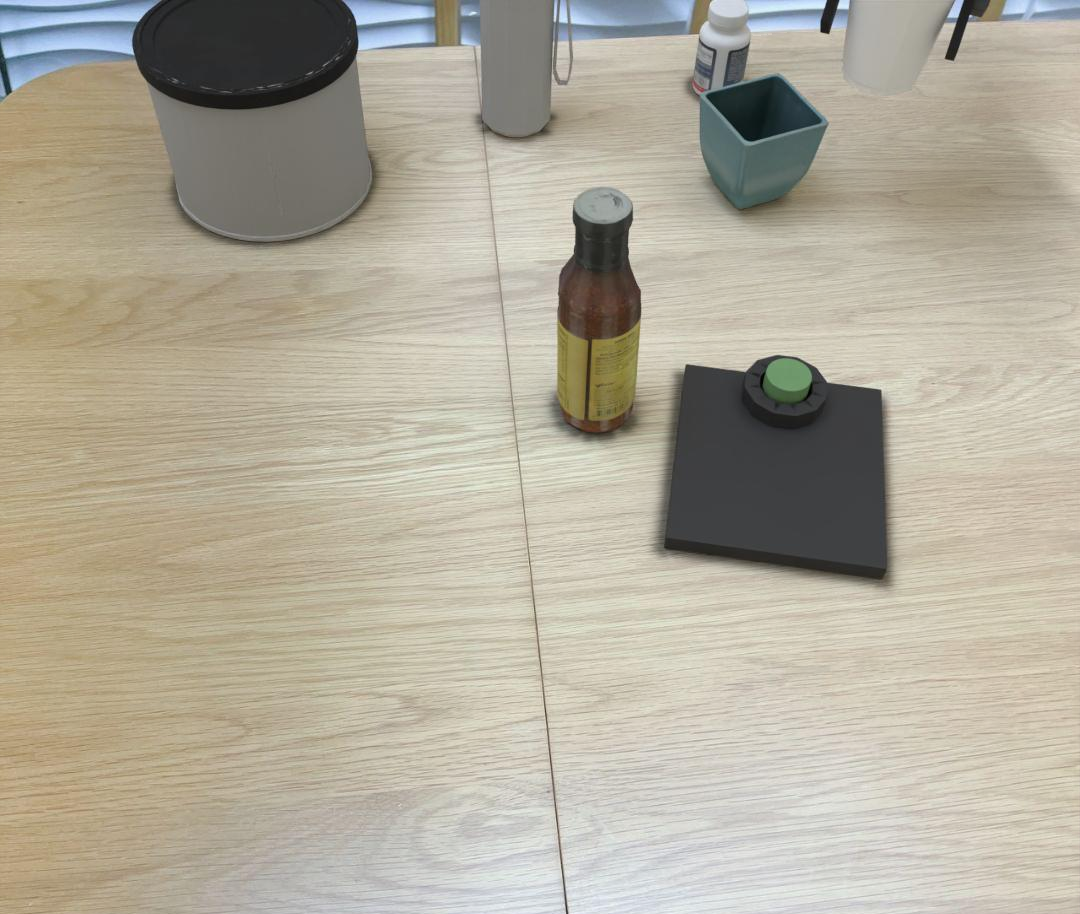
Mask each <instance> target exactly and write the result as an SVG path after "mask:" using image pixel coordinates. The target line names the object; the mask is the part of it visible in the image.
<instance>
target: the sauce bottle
mask: <svg viewBox="0 0 1080 914" xmlns="http://www.w3.org/2000/svg"><path fill="white" fill-rule="evenodd" d="M633 222H634V206H633V201H632V200H631V198H630V197H629V196H628V195H627V194H626V193H623V192H622V191H621V190H619V189H617V188H615V187H610V186H598V187H592V188H588V189H587V190H585V191H583V192H581V193H579V194H577V196H576V197H575V198H574V200H573V204H572V223H573V225H574V233H575V234H574V247H573V254H572V255H571V256H570V257H569V259H568V260H567V262H566V263H565V265H564V266H563V267H562V268H561V269H560V273H559V275H558V288H557V296H558V303H557V304H558V305H557V310H556V322H557V323H556V328H557V329H556V332H557V333H556V335H557V336H556V337H557V340H556V341H557V344H556V345H557V346H556V347H557V353H556V354H557V357H556V358H557V361H556V364H557V365H556V367H557V371H556V378H557V379H556V381H557V383H556V385H557V386H556V396H557V400H558V402H559V408H560V411H561V414H562V418H564V420H565V421H566V422H567V423H569V424H570V425H572V426H574V427H575V428H577V429H580V430H582V431H585V432H587V433H598V434H599V433H604V432H610V431H614V430H616V429H618V428H620V427H621V426H622V425H624V424H625V422H626V421H627V420H628V419H629V418H630V415H631V413H632V411H633V409H634V408H633V407H634V401H635V398H636V389H637V387H636V386H637V375H638V364H639V363H638V362H639V348H640V337H641V336H640V335H641V322H642V290H641V288H640V286H639V284H638V282H637V280H636V277H635V275H634V272H633V269H632V266H631V261H630V257H629V255H630V247H629V236H630V228H631V226H632V224H633Z"/></svg>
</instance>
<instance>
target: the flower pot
mask: <svg viewBox="0 0 1080 914" xmlns="http://www.w3.org/2000/svg"><path fill="white" fill-rule="evenodd" d="M828 126H829V121H828V119H827V118H826V117H825V116H824V115H823V114H822V113H821V112H820V111H819V110H818V109H817V108H816V107H815V106H814V105H813V104H812V103H810V101H809V100H808V99H807V98H805V96H803V94H802V93H801V92H800V91H798V89H797V88H796V87H795V86H794V85H793V84H792V83H791V82H790V81H789V80H788V79H787V78H786V77H785V76H784V75H782V74H781V73H779V72H775V73H771V74H767V75H763V76H762V75H761V76H759V77H756V78H752V79H748V80H743V82H740V83H736V84H732V85H729V86H725V87H721V88H717V89H712V90H708V91H705V92H702V93H701V94H700V95H699V145H700V150H701V151H700V152H701V156H702V159H703V162H704V164H705V167H706V169H707V171H708V173H709V176H710V178H711V179H712V182H713V183H714V184H715V185H716V186H717V188H718V189H719V190H720V191H721V192H722V193H723V194H724V196H726V198H727V199H728V200H729V202H731V204H732V205H733V207H735V208H736V209H738V210H743V209H746V208H751V207H754V206H757V205H760V204H763V203H768V202H771V201H775V200H778V199H781V198H783V197H784V196H785V195H787V194H788V193H789V192H790V191H791V190H793V189H794V188H795V187H796V186H797V185H798V184H799V183H800V182H801V180H802V179H803V178H804V177H805V176H806V174H807V173H808V171H809V169H810V168H811V167H812V165H813V162H814V159H815V157H816V156H817V155H816V154H817V152H818V150H819V148H820V146H821V143H822V141H823V138H824V136H825V133H826V131H827V128H828Z"/></svg>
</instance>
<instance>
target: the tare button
mask: <svg viewBox="0 0 1080 914" xmlns="http://www.w3.org/2000/svg"><path fill="white" fill-rule="evenodd" d="M811 381H812V374H811V371H810V370H809V368H808V367H807V366H806V365H805V364H803V363H801V362H800V361H797V360H794V359H789V358H783V359H778V360H775V361H773V362H772V363H770V364H769V366H768V367H767V370H766V373H765V377H764V381H763V389H764V392H765V393H766V395H767V396H768V397H769V398H771V399H773V400H775V401H776V402H778V403H785V404H795V403H798V402H800V401H802V400H803V399H804V398H805V397H806V396H807V394H808V390H809V387H810V384H811Z"/></svg>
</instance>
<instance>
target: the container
mask: <svg viewBox="0 0 1080 914" xmlns="http://www.w3.org/2000/svg"><path fill="white" fill-rule="evenodd" d="M359 41H360V40H359V33H358V26H357V20H356V17H355V15H354V13H353V11H352V9H351V8H350V6H348V4H347V3H346V2H344V1H343V0H160V1H159V2H157V3H156V4H154V5H153V6H152V7H150V9H148V10H147V11H146V12H145V13H144V14H143V16H141V18H139V21H138V22H137V24H136V26H135V28H134V30H133V34H132V39H131V46H132V52H133V55H134V58H135V62H136V65H137V68H138V70H139V72H140V74H141V76H142V77H143V79H144V80H145V81H146V84H147V88H148V91H149V95H150V97H151V102H152V105H153V108H154V112H155V115H156V119H157V122H158V125H159V129H160V133H161V137H162V140H163V143H164V146H165V147H164V148H165V150H166V153H167V156H168V161H169V163H170V167H171V170H172V174H173V177H174V181H175V191H176V195H177V198H178V201H179V204H180V205H181V207H182V209H183V210H184V213H186V215H187V216H188V217H190V219H191V220H193V222H195V223H196V224H198V225H199V226H201V227H202V228H204V229H206V230H208V231H210V232H211V233H215V234H217V235H220V236H223V237H226V238H230V239H234V240H241V241H246V242H261V243H262V242H264V243H265V242H267V243H268V242H282V241H289V240H296V239H300V238H305V237H308V236H311V235H314V234H317V233H320V232H322V231H325V230H327V229H329V228H331V227H333V226H336V225H337V224H340V222H342V221H343V220H345V219H346V218H348V217H349V216H350V215H351V214H353V213H354V212H355V211H356V210H357V209H358V208H359V207H360V206H361V205H362V203H363V202H364V201H365V199H366V198H367V195H368V193H369V191H370V189H371V185H372V181H373V171H372V164H371V161H370V158H369V150H368V141H367V135H366V127H365V118H364V109H363V101H362V95H361V94H362V93H361V83H360V76H359V68H358V59H357V56H358V55H357V54H358V50H359V45H360V44H359Z"/></svg>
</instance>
